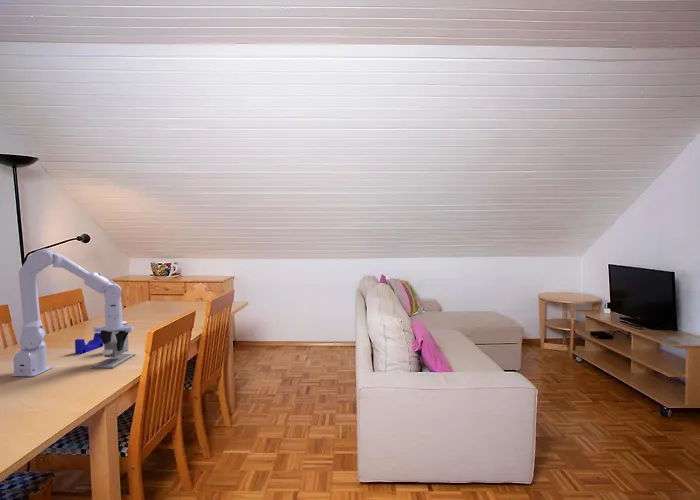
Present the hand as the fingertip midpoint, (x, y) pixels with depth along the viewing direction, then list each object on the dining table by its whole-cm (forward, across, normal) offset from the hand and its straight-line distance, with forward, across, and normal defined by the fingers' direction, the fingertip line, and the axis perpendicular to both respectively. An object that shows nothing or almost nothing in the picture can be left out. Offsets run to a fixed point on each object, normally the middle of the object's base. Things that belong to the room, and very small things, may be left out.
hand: (114, 350), depth 163 cm
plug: (+2, 0, +1) cm, 2 cm away
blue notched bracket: (+5, +20, -15) cm, 25 cm away
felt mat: (+4, 0, 0) cm, 4 cm away
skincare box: (+5, +6, -14) cm, 16 cm away
